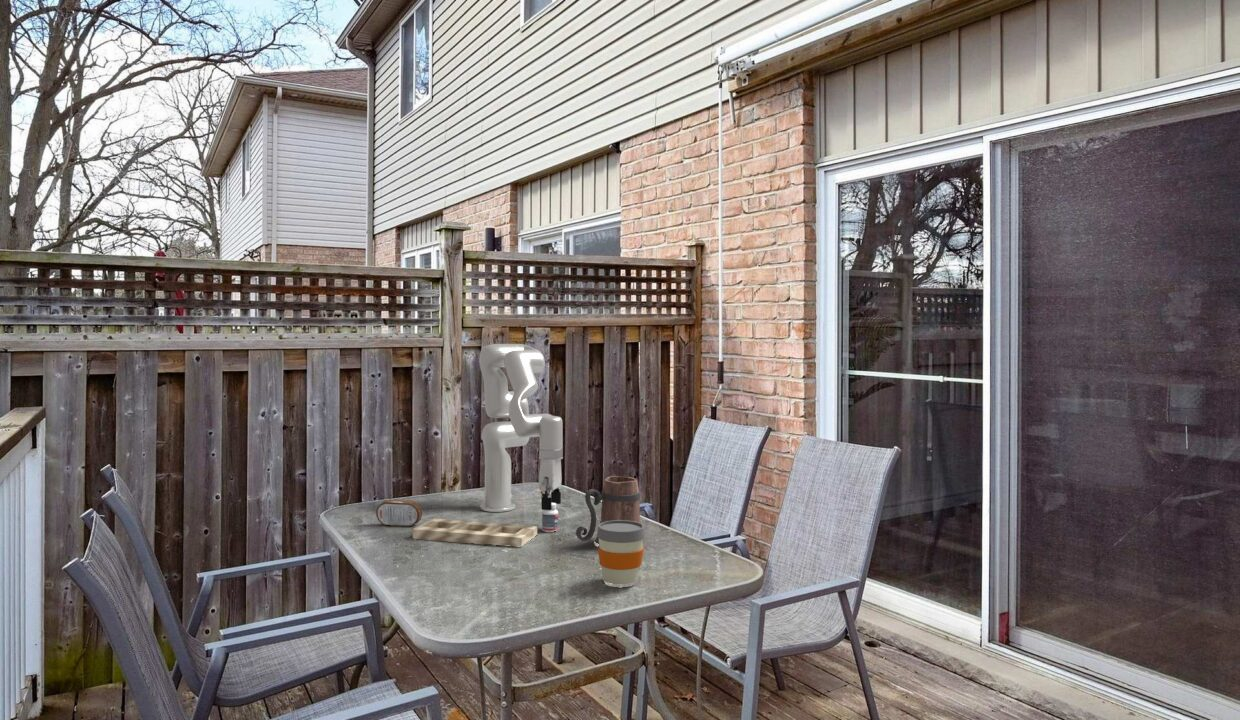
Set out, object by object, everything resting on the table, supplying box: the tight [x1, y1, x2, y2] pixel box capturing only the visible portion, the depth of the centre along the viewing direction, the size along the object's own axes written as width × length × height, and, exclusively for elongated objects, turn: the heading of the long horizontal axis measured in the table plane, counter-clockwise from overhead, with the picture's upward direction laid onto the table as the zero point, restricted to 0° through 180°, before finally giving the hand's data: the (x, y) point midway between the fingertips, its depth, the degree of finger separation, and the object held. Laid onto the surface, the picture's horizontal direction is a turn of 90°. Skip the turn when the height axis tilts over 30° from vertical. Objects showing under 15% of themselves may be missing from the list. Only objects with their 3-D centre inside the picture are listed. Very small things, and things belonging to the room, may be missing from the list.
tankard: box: [575, 475, 645, 544], centre depth 241 cm, size 24×17×20 cm
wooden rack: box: [412, 517, 538, 547], centre depth 247 cm, size 36×14×3 cm, turn 77°
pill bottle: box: [541, 503, 559, 533], centre depth 256 cm, size 5×5×9 cm
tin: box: [375, 499, 423, 527], centre depth 260 cm, size 15×3×8 cm, turn 84°
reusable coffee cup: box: [596, 520, 646, 584], centre depth 206 cm, size 12×13×15 cm
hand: (551, 506), depth 256 cm, fingers open, 9 cm apart
